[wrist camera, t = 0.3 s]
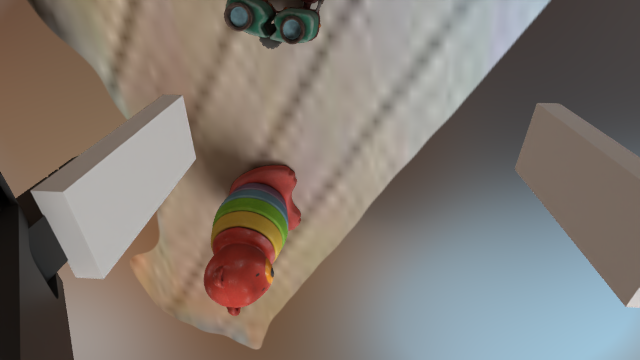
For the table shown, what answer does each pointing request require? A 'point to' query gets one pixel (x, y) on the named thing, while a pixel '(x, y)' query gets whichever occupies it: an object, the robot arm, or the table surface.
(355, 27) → the table surface
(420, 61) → the table surface
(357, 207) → the table surface
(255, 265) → the stacking bear
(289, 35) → the binoculars
